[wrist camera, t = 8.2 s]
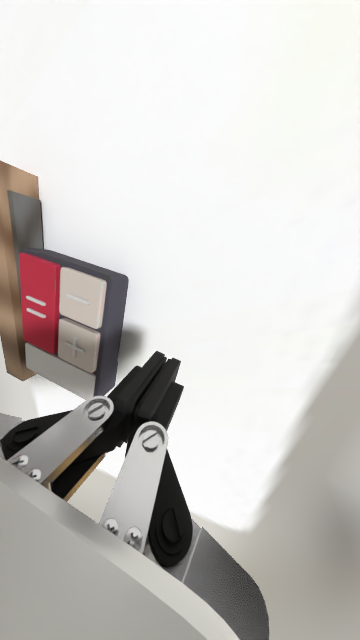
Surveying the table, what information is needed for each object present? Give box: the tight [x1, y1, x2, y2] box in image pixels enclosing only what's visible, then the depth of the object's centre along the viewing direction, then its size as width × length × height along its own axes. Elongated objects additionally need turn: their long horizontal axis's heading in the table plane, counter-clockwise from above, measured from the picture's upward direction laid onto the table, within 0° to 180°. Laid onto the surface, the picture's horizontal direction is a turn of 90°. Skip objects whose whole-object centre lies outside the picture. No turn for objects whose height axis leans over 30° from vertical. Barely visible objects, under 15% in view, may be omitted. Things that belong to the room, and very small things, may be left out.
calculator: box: [19, 247, 128, 400], centre depth 20 cm, size 11×4×15 cm
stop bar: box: [0, 161, 43, 381], centre depth 20 cm, size 24×4×4 cm, turn 165°
